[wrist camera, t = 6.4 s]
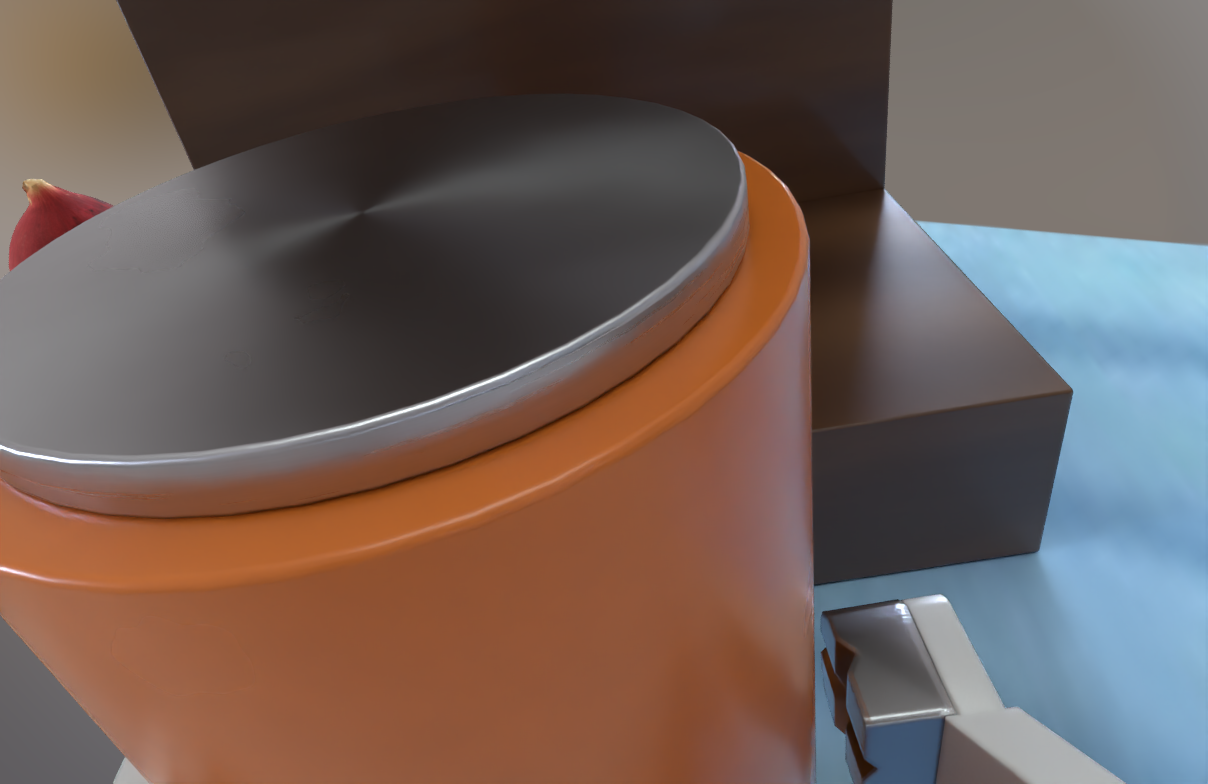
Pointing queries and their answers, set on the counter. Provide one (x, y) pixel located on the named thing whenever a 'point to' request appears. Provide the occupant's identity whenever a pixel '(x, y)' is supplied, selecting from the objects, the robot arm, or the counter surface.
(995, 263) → the counter surface
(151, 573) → the can
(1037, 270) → the counter surface
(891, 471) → the shelf
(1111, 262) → the counter surface
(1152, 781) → the counter surface
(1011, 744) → the robot arm
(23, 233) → the onion
